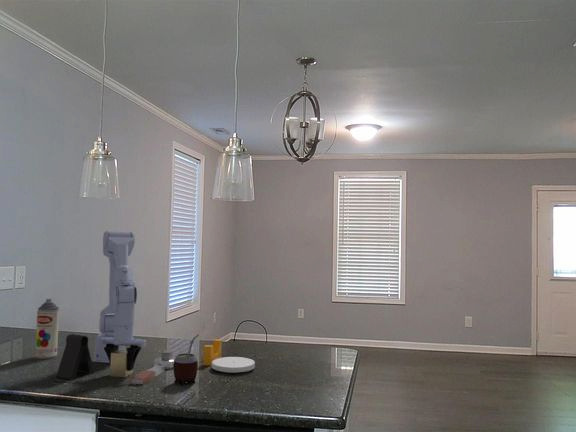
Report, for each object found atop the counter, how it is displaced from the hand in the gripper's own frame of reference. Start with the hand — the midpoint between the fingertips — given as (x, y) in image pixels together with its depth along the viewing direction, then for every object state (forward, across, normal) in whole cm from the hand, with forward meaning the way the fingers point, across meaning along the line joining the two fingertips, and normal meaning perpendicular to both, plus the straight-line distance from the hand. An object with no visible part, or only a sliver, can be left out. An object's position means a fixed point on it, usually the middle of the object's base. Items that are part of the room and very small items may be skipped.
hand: (121, 369), depth 152 cm
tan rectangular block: (+2, 0, 0) cm, 2 cm away
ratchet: (+2, +9, +5) cm, 10 cm away
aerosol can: (+2, -35, +13) cm, 37 cm away
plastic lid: (+2, +31, +16) cm, 35 cm away
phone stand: (+2, -13, -4) cm, 14 cm away
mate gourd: (+2, +22, -3) cm, 22 cm away
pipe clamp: (+2, +20, +24) cm, 31 cm away
